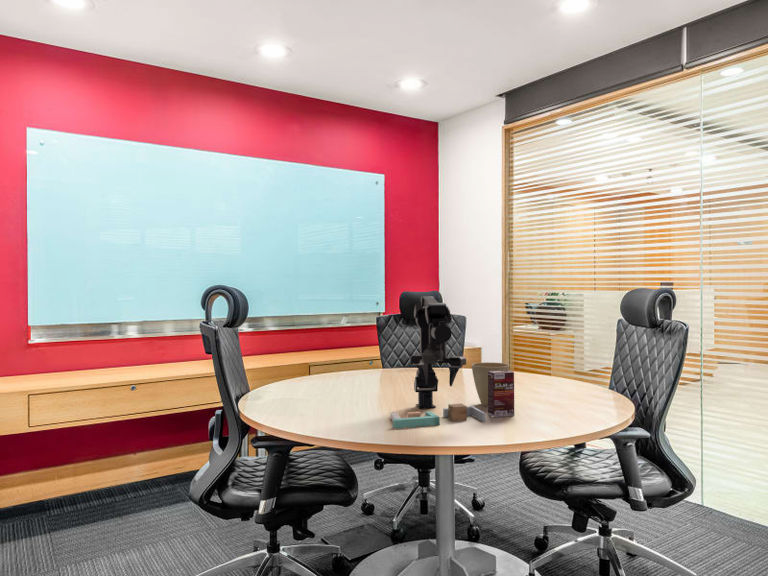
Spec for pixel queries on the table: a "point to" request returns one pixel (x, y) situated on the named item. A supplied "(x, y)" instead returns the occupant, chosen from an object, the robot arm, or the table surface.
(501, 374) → the supplement box
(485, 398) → the plant pot
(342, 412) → the table surface
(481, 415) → the gray angle bracket
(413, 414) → the offcut
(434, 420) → the crook
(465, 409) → the block
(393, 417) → the stick
